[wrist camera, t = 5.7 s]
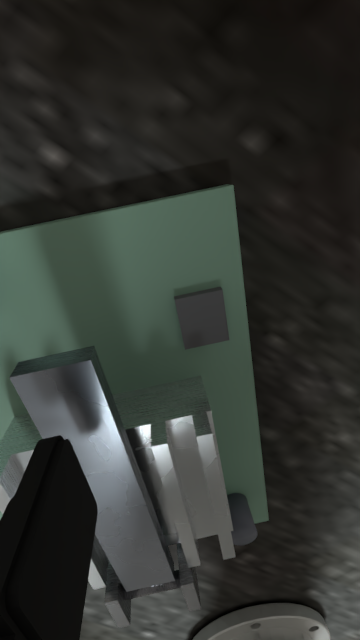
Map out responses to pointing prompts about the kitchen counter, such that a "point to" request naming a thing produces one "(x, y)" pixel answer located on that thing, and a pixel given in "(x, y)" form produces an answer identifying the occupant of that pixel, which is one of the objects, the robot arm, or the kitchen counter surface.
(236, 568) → the kitchen counter surface
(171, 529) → the heat sink
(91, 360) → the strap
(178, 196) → the board
